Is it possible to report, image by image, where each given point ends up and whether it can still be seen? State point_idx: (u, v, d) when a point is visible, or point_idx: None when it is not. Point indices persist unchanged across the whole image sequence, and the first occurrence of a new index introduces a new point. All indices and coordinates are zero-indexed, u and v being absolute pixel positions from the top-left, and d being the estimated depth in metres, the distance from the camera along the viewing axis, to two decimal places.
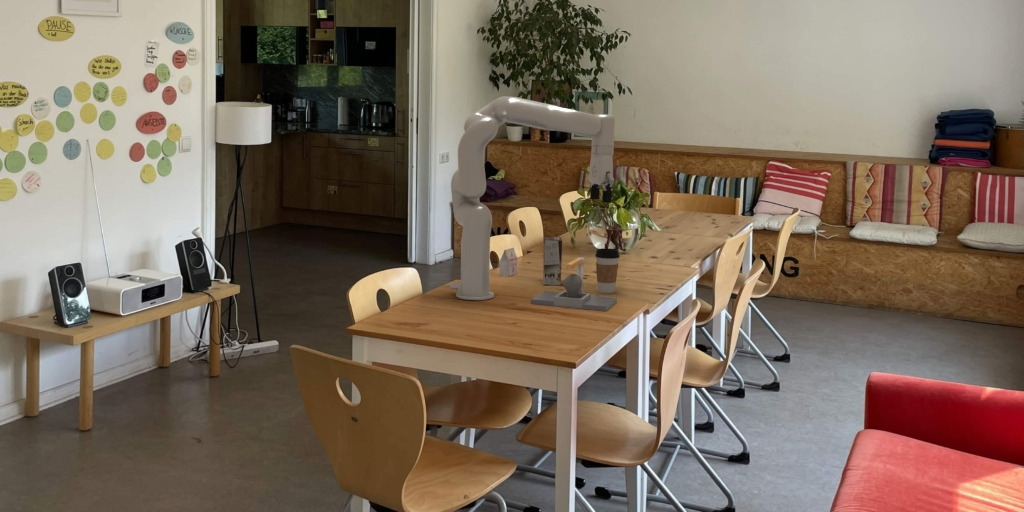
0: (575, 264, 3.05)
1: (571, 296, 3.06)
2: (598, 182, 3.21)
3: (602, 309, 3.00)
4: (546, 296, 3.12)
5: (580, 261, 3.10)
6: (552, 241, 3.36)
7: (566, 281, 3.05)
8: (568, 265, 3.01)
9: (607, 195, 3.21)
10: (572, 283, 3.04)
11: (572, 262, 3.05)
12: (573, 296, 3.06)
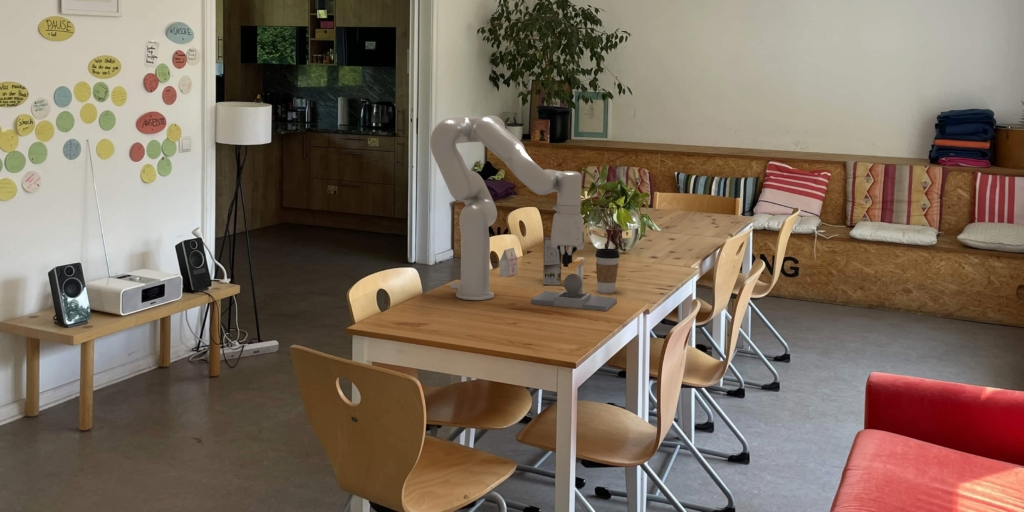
0: (576, 264, 3.05)
1: (571, 296, 3.06)
2: (575, 244, 3.02)
3: (602, 309, 3.00)
4: (546, 296, 3.12)
5: (581, 261, 3.10)
6: None
7: (566, 281, 3.05)
8: (570, 265, 3.01)
9: (571, 259, 3.06)
10: (572, 283, 3.04)
11: (573, 262, 3.05)
12: (573, 296, 3.06)
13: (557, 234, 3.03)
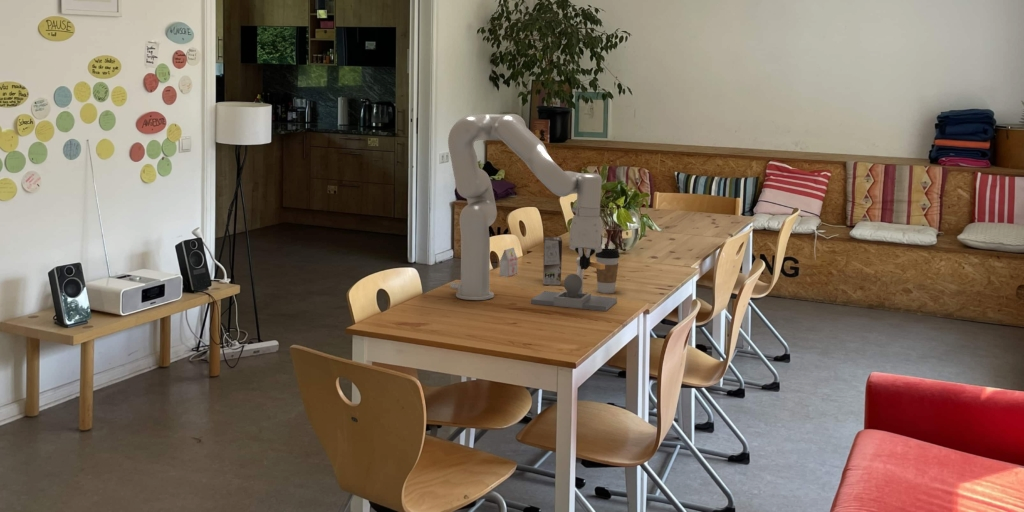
0: None
1: (571, 296, 3.06)
2: (594, 246, 3.01)
3: (602, 309, 3.00)
4: (546, 296, 3.12)
5: None
6: (552, 241, 3.36)
7: (566, 281, 3.05)
8: (602, 265, 3.02)
9: (588, 261, 3.05)
10: (572, 283, 3.04)
11: (595, 262, 3.05)
12: (573, 296, 3.06)
13: (575, 236, 3.03)
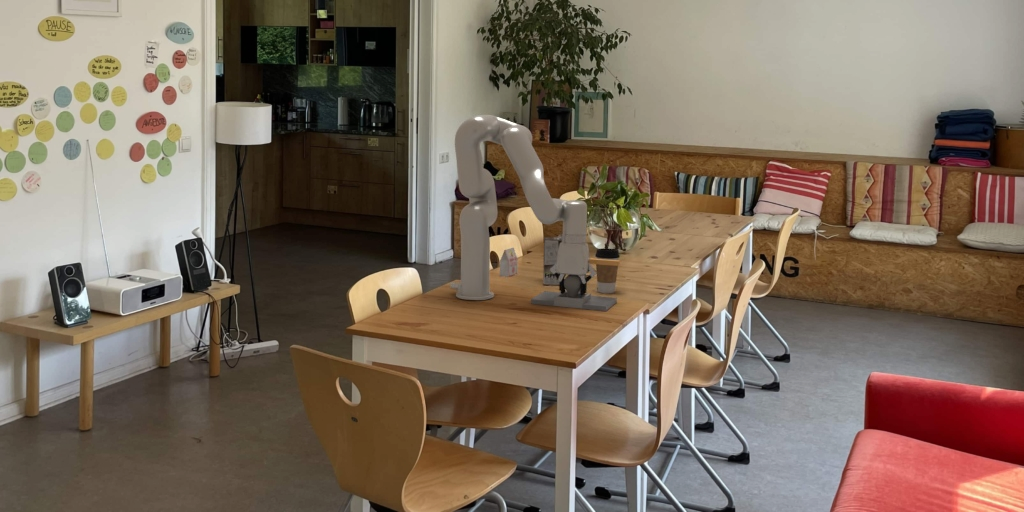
0: None
1: (571, 296, 3.06)
2: (581, 273, 3.03)
3: (602, 309, 3.00)
4: (546, 296, 3.12)
5: None
6: (552, 241, 3.36)
7: (566, 281, 3.05)
8: (619, 262, 3.09)
9: (585, 287, 3.06)
10: (572, 283, 3.04)
11: (607, 260, 3.10)
12: (573, 296, 3.06)
13: (563, 263, 3.04)
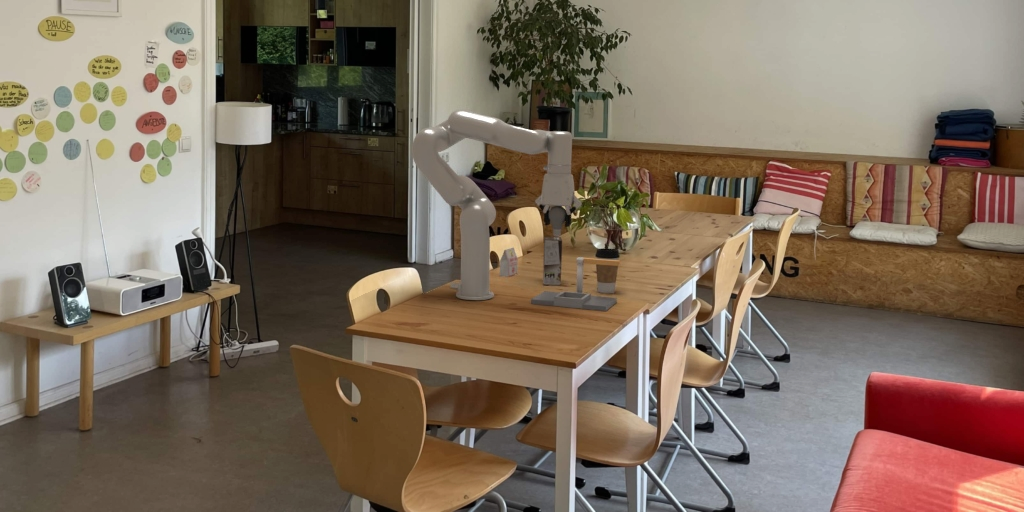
0: None
1: (556, 228, 3.06)
2: (566, 204, 3.02)
3: (602, 309, 3.00)
4: (546, 296, 3.12)
5: None
6: (552, 241, 3.36)
7: (551, 212, 3.04)
8: (619, 262, 3.09)
9: (570, 219, 3.05)
10: (557, 214, 3.03)
11: (607, 260, 3.10)
12: (558, 228, 3.06)
13: (547, 194, 3.03)
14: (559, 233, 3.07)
